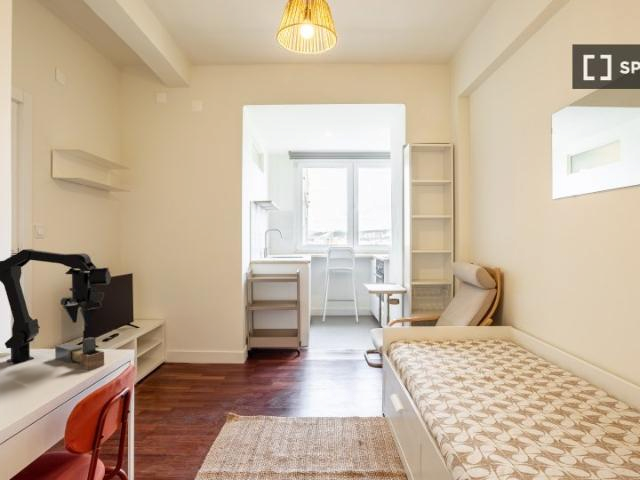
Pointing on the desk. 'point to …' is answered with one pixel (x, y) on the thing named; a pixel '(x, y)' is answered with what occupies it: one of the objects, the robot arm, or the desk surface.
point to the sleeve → (66, 351)
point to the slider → (84, 349)
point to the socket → (92, 360)
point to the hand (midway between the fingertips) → (81, 323)
